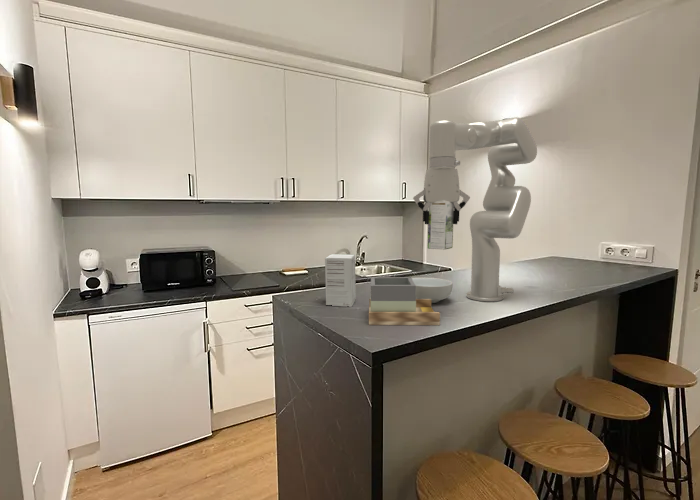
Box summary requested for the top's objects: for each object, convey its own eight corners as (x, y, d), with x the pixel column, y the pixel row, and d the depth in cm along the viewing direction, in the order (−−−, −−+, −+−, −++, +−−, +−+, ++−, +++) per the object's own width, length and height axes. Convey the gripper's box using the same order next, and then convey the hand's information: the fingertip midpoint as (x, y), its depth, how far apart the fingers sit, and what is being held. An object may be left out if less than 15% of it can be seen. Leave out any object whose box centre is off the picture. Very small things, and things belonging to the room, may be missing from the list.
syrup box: (435, 247, 114) (436, 200, 113) (453, 248, 111) (454, 200, 109) (427, 249, 110) (427, 200, 108) (445, 250, 106) (446, 200, 105)
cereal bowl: (454, 307, 120) (454, 286, 120) (403, 305, 124) (403, 285, 123) (450, 295, 137) (450, 277, 136) (405, 294, 140) (406, 276, 139)
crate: (411, 306, 117) (411, 277, 116) (415, 318, 104) (416, 285, 103) (370, 306, 118) (370, 277, 117) (370, 318, 105) (370, 285, 104)
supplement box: (331, 299, 134) (330, 253, 132) (356, 299, 132) (355, 254, 130) (325, 306, 124) (324, 257, 122) (351, 307, 123) (351, 257, 121)
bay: (430, 309, 118) (430, 298, 118) (439, 325, 102) (439, 313, 102) (369, 309, 120) (369, 298, 119) (368, 324, 104) (368, 312, 103)
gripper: (468, 166, 111) (466, 223, 113) (410, 166, 112) (410, 223, 114) (475, 162, 103) (473, 224, 105) (414, 163, 104) (413, 224, 106)
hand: (440, 223), depth 109 cm, fingers closed on syrup box, 8 cm apart
